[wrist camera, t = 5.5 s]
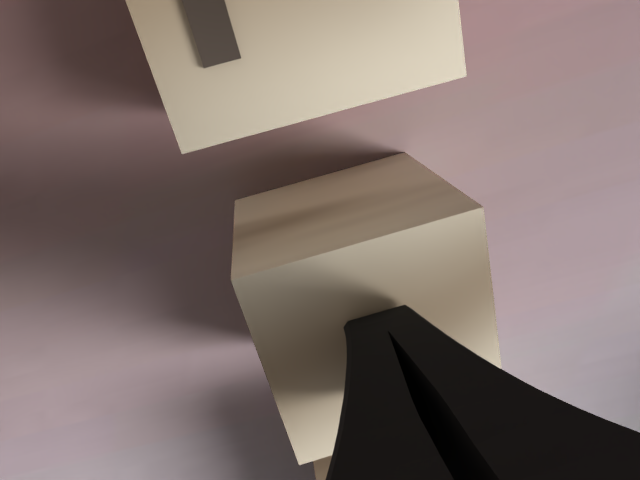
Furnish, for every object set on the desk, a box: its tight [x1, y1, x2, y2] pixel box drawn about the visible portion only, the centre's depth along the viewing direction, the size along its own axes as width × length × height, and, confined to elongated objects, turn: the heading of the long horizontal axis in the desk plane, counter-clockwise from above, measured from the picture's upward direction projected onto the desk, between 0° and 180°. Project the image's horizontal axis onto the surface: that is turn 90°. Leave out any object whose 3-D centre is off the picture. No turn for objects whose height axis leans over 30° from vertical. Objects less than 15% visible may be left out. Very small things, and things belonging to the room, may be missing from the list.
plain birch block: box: [231, 152, 501, 465], centre depth 12 cm, size 5×5×5 cm
